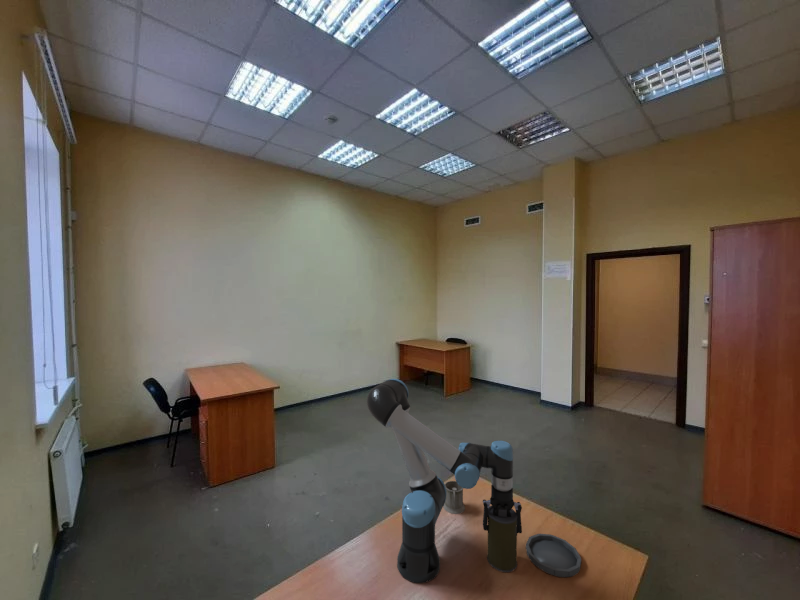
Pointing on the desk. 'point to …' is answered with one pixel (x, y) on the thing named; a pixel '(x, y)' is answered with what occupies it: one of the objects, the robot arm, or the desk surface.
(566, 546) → the round tray
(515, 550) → the canister
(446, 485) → the mug
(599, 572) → the desk surface
